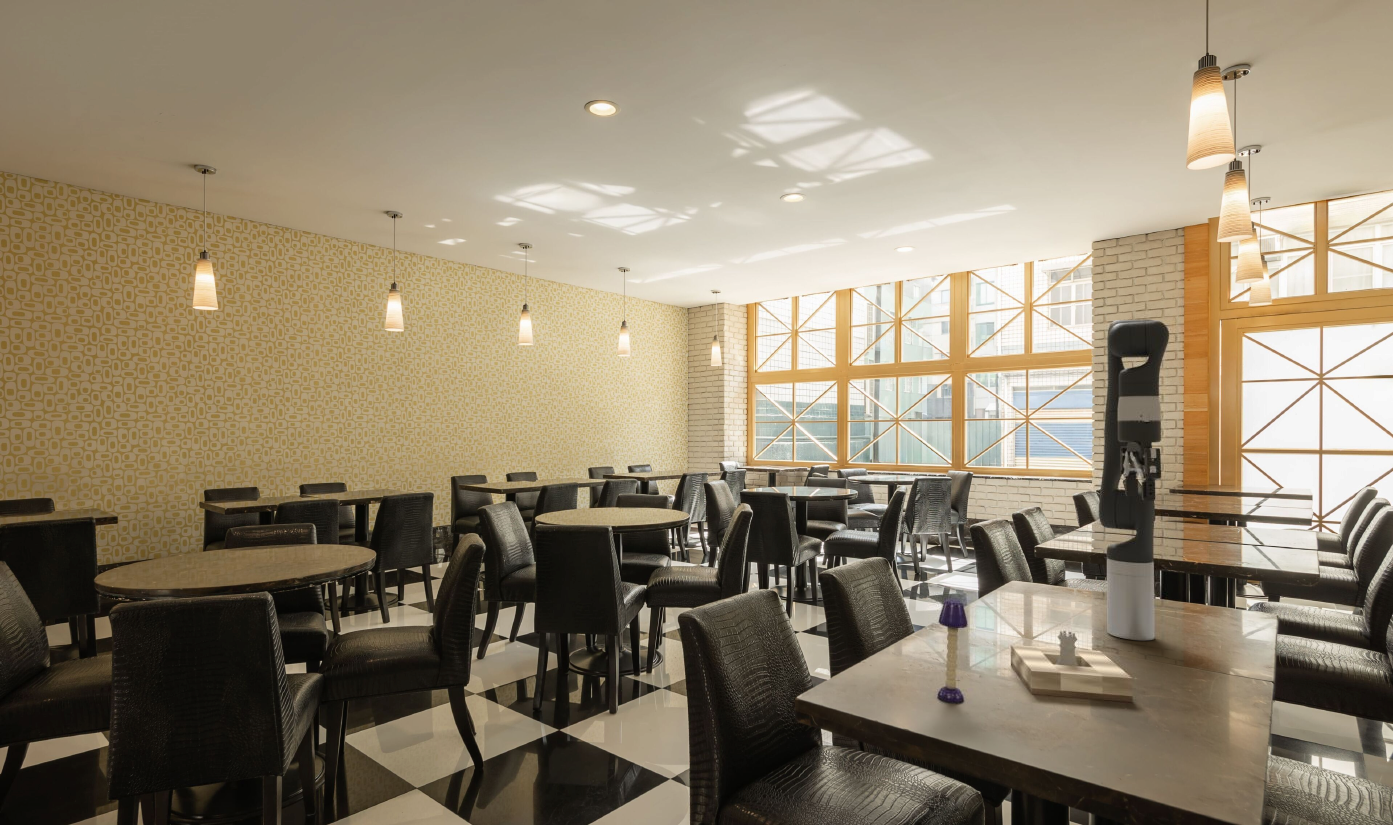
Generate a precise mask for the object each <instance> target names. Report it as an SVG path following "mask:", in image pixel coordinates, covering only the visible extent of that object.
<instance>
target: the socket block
mask: <svg viewBox="0 0 1393 825" xmlns="http://www.w3.org/2000/svg"><path fill="white" fill-rule="evenodd" d="M1059 656H1060V647H1047V646H1036V645H1035V646H1034V645H1033V646H1031V645H1021V644H1020V645H1018V644H1017V645H1016V644H1010V666H1011V667H1012V669H1013V670H1014V673H1016V675H1017V676H1018V677H1019V679H1020V680H1021V682H1023V685H1024V686H1025V687H1026V688H1027V689H1028V692H1029V693H1030V694H1031V695H1039V696H1054V697H1066V698H1075V699H1076V698H1077V699H1078V698H1079V699H1090V700H1103V701H1113V702H1114V701H1115V702H1116V701H1117V702H1124V703H1126V702H1127V703H1129V702H1130V703H1133V702H1134V700H1133V698H1134V697H1133V692H1134V691H1133V687H1134V686H1133V685H1134V684H1133V677H1132V676H1131V675H1129V674H1128V673H1127V672H1125V671H1124V670H1123V669H1122V668H1121V667H1120V666H1119V665H1117V664H1116V662H1114V661H1112V660H1111V659H1110V658H1109V657H1107V656H1106V655H1105V654H1104V653H1103V652H1102V651H1100V650H1089V649H1078V648H1075V657H1076V662H1077V664H1078V666H1066V665H1056V664H1057V661H1058V660H1059Z"/></svg>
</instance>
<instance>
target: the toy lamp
mask: <svg viewBox="0 0 1393 825" xmlns="http://www.w3.org/2000/svg"><path fill="white" fill-rule="evenodd" d="M966 615H967V614H966V610H965V606H964V603H963V602H962V601H960V600H958V599H951V598H948V599H945V600H944V602H943V605H942V608H941V610H940V613H939V617H938V623H939V624H940V625H942V626H944V627H947V633H948V634H947V635H946V636H947V637H946V638H947V645H946V648H947V652H946V659H947V660H946V663H945V668H946V670H945V677H946V678H945V686H942V687H941V688H940V689H939V691H938V692H937V698H938V699H939V700H942V701H943V702H947V703H952V704H953V703H954V704H957V703H958V704H959V703H962V702H964V701H965V698H964V695H963V694H964V693H963V692H962V691H961V690H960V689H959V688H957V687H956V686H957V681H956V679H957V668H958V663H957V661H958V653H957V652H958V644H957V643H958V641H959V637H958V633H959V629H965V628H967V626H968V619H967V616H966Z"/></svg>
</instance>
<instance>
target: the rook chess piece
mask: <svg viewBox="0 0 1393 825" xmlns="http://www.w3.org/2000/svg"><path fill="white" fill-rule="evenodd" d="M1057 639H1058V640H1059V642H1060V643H1059V645H1058V646H1059V648H1060V656H1059V660H1058V661H1057V664H1056V665H1066V666H1078V664H1077V662H1076V657H1075V649H1077V647H1076V644H1075V643H1076V642H1077V641H1078V637H1077V636H1076V633H1075V632H1073V631H1068V632H1067V631H1066V630H1060V631H1059V634H1058V636H1057Z"/></svg>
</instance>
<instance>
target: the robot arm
mask: <svg viewBox="0 0 1393 825" xmlns="http://www.w3.org/2000/svg"><path fill="white" fill-rule="evenodd" d="M1169 339H1170V332H1169V328H1168V326H1167V325H1166V324H1165V323H1163V321H1159V320H1153V319H1148V318H1145V319H1144V318H1142V319H1117V320H1113V321H1112V322H1111V323H1110V324H1109V327H1108V330H1107V339H1106V340H1107V341H1106V343H1107V345H1106V346H1107V348H1106V349H1107V388H1106V389H1107V390H1106V402H1105V414H1104V437H1103V438H1104V442H1103V443H1104V448H1103V449H1104V450H1103V451H1104V452H1103V454H1104V455H1103V467H1102V475H1101V482H1100V483H1101V484H1100V485H1101V486H1100V490H1099V491H1100V492H1099V501H1098V517H1099V523H1100V524H1101V526H1103V528H1106V529H1111V530H1112V529H1113V530H1114V529H1115V530H1125V531H1126V530H1128V531H1135V532H1136V533H1135V536H1134V537H1132V538H1130V539H1129V540H1125V541H1123V542H1117V543H1114V544H1110V545H1107V547H1106V613H1107V614H1106V620H1107V621H1106V626H1107V627H1106V628H1107V630H1106V632H1107V634H1109V635H1111V636H1114V637H1117V638H1122V639H1126V640H1133V641H1152V640H1155V575H1154V574H1155V573H1154V571H1155V570H1154V568H1155V566H1154V564H1155V562H1154V560H1155V559H1154V534H1155V533H1154V531H1155V515H1156V511H1155V510H1156V507H1155V506H1156V505H1155V500H1156V482H1157V481H1158V480H1161V479H1162V461H1161V460H1162V458H1161V456H1162V455H1161V449H1160V448H1159V447H1158V448H1157V447H1153V443H1160V442H1161V441H1162V411H1161V410H1162V408H1161V402H1160V371H1161V368H1162V367H1161V366H1162V361H1163V358H1164V356H1165V352H1166V350H1167V347H1168V344H1169V341H1170V340H1169ZM1123 358H1147V360H1146V361H1145V362H1144V363H1142V364H1140V365H1137V366H1132V367H1128V368H1125V366H1124V362H1123ZM1122 476H1123V478H1124V485H1125V486H1124V489H1122V488H1120V489H1119V484H1120V480H1121V478H1122ZM1139 476H1140V480H1141V490H1139V478H1138V477H1139Z"/></svg>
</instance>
